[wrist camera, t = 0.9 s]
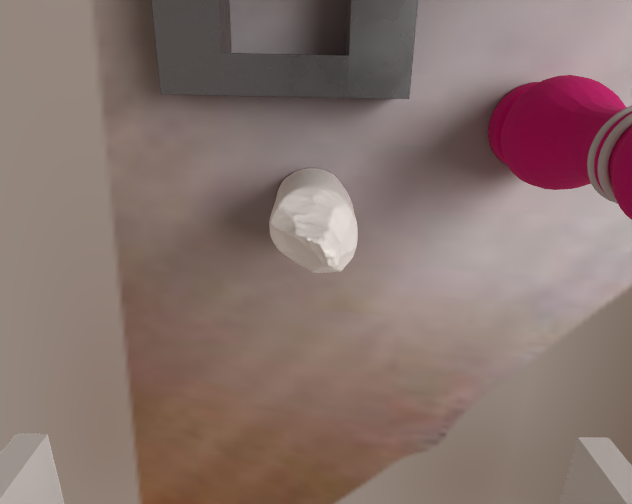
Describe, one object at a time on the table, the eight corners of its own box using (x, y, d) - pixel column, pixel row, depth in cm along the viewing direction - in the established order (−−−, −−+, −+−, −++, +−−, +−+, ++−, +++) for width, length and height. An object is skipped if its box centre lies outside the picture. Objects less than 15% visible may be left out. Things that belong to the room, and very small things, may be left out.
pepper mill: (467, 164, 35) (641, 268, 17) (500, 65, 33) (748, 56, 14) (556, 182, 36) (818, 303, 17) (594, 86, 33) (953, 106, 15)
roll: (242, 273, 25) (291, 187, 24) (264, 212, 37) (298, 150, 35) (334, 321, 27) (388, 242, 25) (328, 247, 38) (365, 189, 36)
